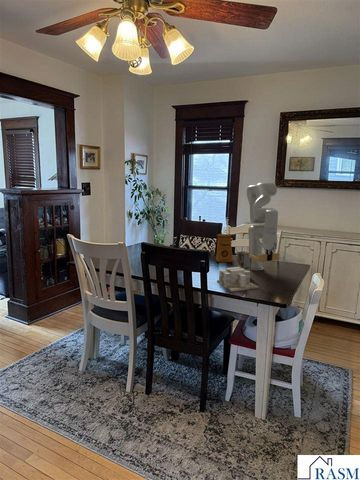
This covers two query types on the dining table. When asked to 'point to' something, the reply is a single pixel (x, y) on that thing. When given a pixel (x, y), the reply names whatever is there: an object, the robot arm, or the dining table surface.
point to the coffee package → (224, 248)
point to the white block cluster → (236, 279)
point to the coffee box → (244, 261)
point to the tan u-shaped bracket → (264, 257)
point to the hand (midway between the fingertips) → (268, 259)
